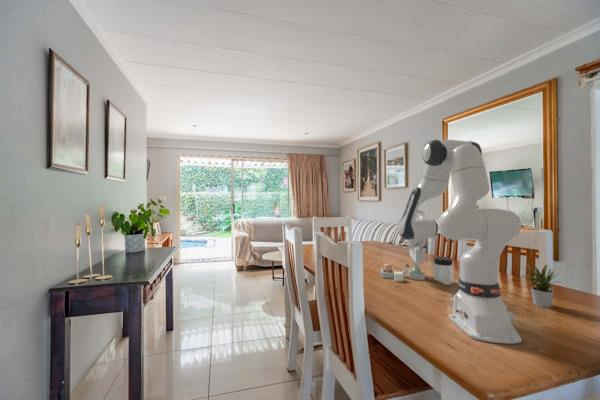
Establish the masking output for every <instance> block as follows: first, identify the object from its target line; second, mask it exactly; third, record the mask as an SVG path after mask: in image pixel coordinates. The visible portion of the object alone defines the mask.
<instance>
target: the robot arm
mask: <svg viewBox="0 0 600 400" xmlns="http://www.w3.org/2000/svg"><path fill="white" fill-rule="evenodd" d="M482 154H483V153H482V147H481V145H480V144H479V143H477V142H475V141H472V140H456V139H440V140H439V139H434V140H429V141H428V142H426V144H425V145H424V147H423V149H422V160H423V162H424V163H425V166H424V168H423V172H422V173H423V174H422V178H421V180H420V182H419V184H417V186H416V187H414V188H413V189H412V191H411V193H410V196H409V198H408V201H407V204H406V205H405V209H404V211H403V212H404V213H403V215H402V217H401V219H400V221H399V222H398V224H397V232H398V234H399V236H400V237H401V238H402V239H404V240H406V245H407V246H408V252H409V256H410V257H411V259H412V261H413V262H412V263H413V268H415V269H419V268H420V266H419V265H423V264H424V262H425V261H424V249H423V248H424V247H425V246H426V239H433V238H434V237H436V236H437V235H438V232H440V234H441V235H442V236H443V237H444V238H445V239H448V240H453V241H461V242H463V241H465V242H466V241H468V242H469V241H472V242H473V241H475V243H474V245H473V247H472V248H471V249H468V250H467V251H465V252H463V253H462V254H461V256H460V258H459V277H458V281H457V282H458V284H457V285H458V291H457V292H456V293H455V294H454V297H453V311H452V312H453V313H450V314H449V315H448V319H449V320H450V321H451V322H452V323H454V324H455V325H456V326H457V327H458V328H459V329H460V330H461V331H463V332H464V333H465V334H466V335H467V336H469V337H470V338H471V339H475V340H479V341H483V342H489V343H496V344H507V345H508V344H520V343H522V337H521V336H520V334H519V332H518V331H517V330H516V328H515V327H514V325H513V324H512V321H514V320H515V314H514V313H513V312H510V311H508V305H507V304H505V302H504V300H503V298H502V297H501V295H502V294H501V287H500V283H499V281H498V280H499V279H498V278H499V276H498V274H499V260H500V258H501V255H502V252H503V250H504V249H505V247H506V246H507V245H508V243H510V242H511V241H513V239H515V238H516V237H518V235H519V234H520V232H521V229H522V222H521V219H520V217H519V215H517V214H516V212H514V211H512V210H507V209H500V208H478V205H477V202H478V201H479V200H482V199H483V198H485V197H486V196H487V195H488V194H489V191H490V183H489V178H488V172H487V168H486V165H485V162H484V158H483V156H482ZM450 177H451V181H452V190H453V196H452V197H453V198H452V201H451V203H450V205H449V206H448V208H447V209H446V210H445V211H443V212H442V213H441V215H440V216H439V218H438V221H437V222H436V220H435V219H433V218H430V217H428V216H427V215H426V213H425V212H424V211H423V210H419V208H420V206H421V205H422V204H423V203H425V202H426V201H429V200H431V199H434V198H438V197H439V196H441V195H443V193H445V192H446V190H447V189H448V185H449V181H450Z"/></svg>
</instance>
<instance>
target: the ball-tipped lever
mask: <svg viewBox="0 0 600 400" xmlns="http://www.w3.org/2000/svg"><path fill="white" fill-rule="evenodd" d="M409 267H410V265H409V264H408V263H405V266H404V268H403V269H402V271H401V272H402V273H403V278H404V277H405V275H406V273H407V272H408V270H409Z"/></svg>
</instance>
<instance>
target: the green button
mask: <svg viewBox="0 0 600 400" xmlns="http://www.w3.org/2000/svg"><path fill="white" fill-rule="evenodd" d="M411 270H412V273H414V274H420V271H421V268H420V267H419V269H415V268H414V267H412V268H411Z"/></svg>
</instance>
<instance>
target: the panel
mask: <svg viewBox="0 0 600 400" xmlns="http://www.w3.org/2000/svg"><path fill="white" fill-rule="evenodd" d="M394 271H395V269H392V272H384V268H382V269H380V276H381V277H380V278H382V279H394ZM395 272H396V271H395ZM425 274H426V273H424V272H423V270H420V274H414V273H412V269H411V270H410V269H407V276H408V278H409V279H410V280H416V281H417V280H419V281H425V280H426V275H425Z"/></svg>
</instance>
